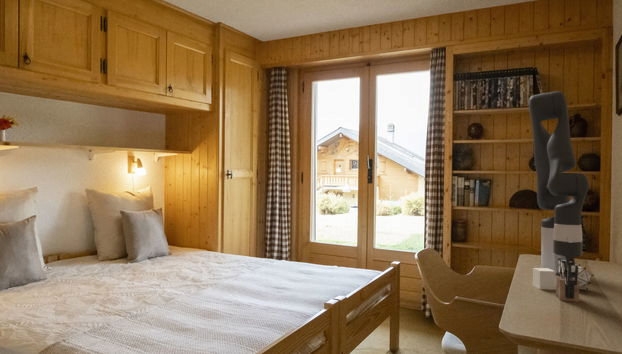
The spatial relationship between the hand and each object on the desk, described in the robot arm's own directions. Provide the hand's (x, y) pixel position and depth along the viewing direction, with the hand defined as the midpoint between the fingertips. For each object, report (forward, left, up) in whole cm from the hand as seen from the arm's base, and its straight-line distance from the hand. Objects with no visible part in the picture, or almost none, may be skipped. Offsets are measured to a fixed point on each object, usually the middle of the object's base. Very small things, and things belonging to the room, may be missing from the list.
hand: (567, 295), depth 130 cm
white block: (-13, -4, -1) cm, 14 cm away
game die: (-14, +6, -1) cm, 15 cm away
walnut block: (0, 0, -1) cm, 1 cm away
